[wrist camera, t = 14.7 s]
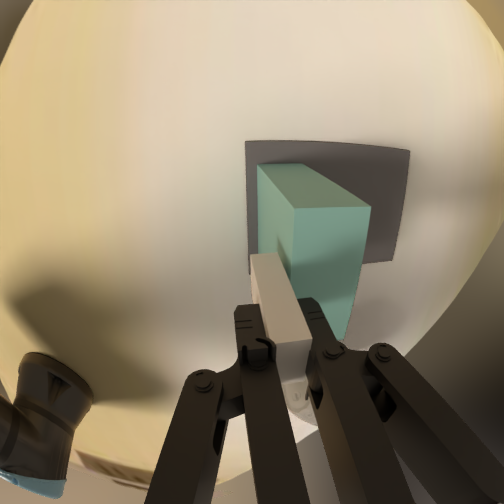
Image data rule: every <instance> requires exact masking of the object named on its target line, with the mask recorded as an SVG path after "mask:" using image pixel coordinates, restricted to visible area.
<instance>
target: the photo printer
mask: <svg viewBox="0 0 504 504" xmlns="http://www.w3.org/2000/svg"><path fill="white" fill-rule="evenodd" d="M307 386H308V380H307V377H306V375H305V380H304V381H301V382H295V383H289V384H282V389H283V393H284V397H285V402H286V406H287V408H288V409H289V411H291V412H292V413H293V414H294V415H295V416H297V417H298V418H300V419H301V420H303V421H305V422H307V423H310V424H312V425H315V426H318V425H317V422H316V418H315V415H314V411H313V408H312V405H311V402H310V398H309V397H308V400H306V401H305V394H306V390H307Z"/></svg>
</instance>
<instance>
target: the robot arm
mask: <svg viewBox="0 0 504 504" xmlns="http://www.w3.org/2000/svg"><path fill="white" fill-rule="evenodd" d="M250 261H251V293H252V300H253V304H248V305H238V306H237V308H236V310H235V312H234V320H235V332H236V342H237V351H238V358H237V361H236V362H235V364H234V365H233V366H231V367H230V368H228V369H226V370H224V371H221V372H218V373H216V372H214V371H211V370H208V369H202V370H198V371H195V372H193V373H192V374H190V375H189V376H188V377H187V379H186V381H185V383H184V386H183V389H182V392H181V395H180V398H179V400H178V403H177V406H176V409H175V412H174V415H173V418H172V421H171V424H170V426H169V429H168V432H167V435H166V438H165V441H164V444H163V447H162V450H161V453H160V456H159V459H158V462H157V465H156V468H155V471H154V474H153V477H152V480H151V483H150V487H149V490H148V493H147V496H146V499H145V502H144V504H211V500H212V496H213V492H214V487H215V482H216V478H217V473H218V468H219V464H220V459H221V454H222V450H223V445H224V440H225V436H226V431H227V426H228V421H229V419H231V418H234V417H236V416H239V415H242V414H244V413H245V420H246V428H247V435H248V442H249V450H250V457H251V464H252V470H253V477H254V483H255V490H256V497H257V503H258V504H310V500H309V496H308V492H307V488H306V484H305V480H304V476H303V472H302V467H301V463H300V459H299V455H298V451H297V447H296V443H295V439H294V435H293V430H292V426H291V422H290V418H289V414H288V410H287V406H286V402H285V397H284V393H283V389H282V384H289V383H295V382H301V381H304V380H305V375H306V377H307V380H308V386H307V390H306V394H305V401H306V400H308V397H309V398H310V402H311V405H312V408H313V411H314V415H315V418H316V422H317V425H318V428H319V431H320V435H321V438H322V442H323V445H324V449H325V452H326V455H327V459H328V462H329V466H330V469H331V472H332V476H333V480H334V483H335V486H336V490H337V493H338V497H339V501H340V504H416V503H415V502H414V500H413V498H412V495H411V492H410V489H409V487H408V484H407V482H406V479H405V476H404V474H403V471H402V469H401V467H400V464H399V461H398V459H397V457H396V454H395V452H394V449H395V451H396V452H397V453H398V454H399V456H400V457H401V458H402V460H403V461H404V462H405V463H406V465H407V466H408V467H409V469H410V470H411V471H412V473H413V474H414V475H415V476H416V478H417V479H418V480H419V481H420V483H421V484H422V485H423V487H424V488H425V489H426V490H427V492H428V493H429V494H430V496H431V497H432V498H433V499H434V501H435V502H436V503H437V504H504V467H503V466H502V465H501V464H500V463H499V461H498V460H497V459H496V458H495V456H494V455H493V454H492V453H491V452H490V450H489V449H488V448H487V447H486V446H485V445H484V443H482V441H481V440H480V439H479V438H478V437H477V436H476V434H475V433H474V432H473V431H472V430H471V429H470V428H469V426H468V425H467V424H466V423H465V422H464V421H463V420H462V419H461V418H460V416H459V415H458V414H457V413H456V412H455V411H454V410H453V409H452V408H451V407H450V405H449V404H448V403H447V402H446V401H445V400H444V399H443V398H442V397H441V396H440V395H439V394H438V392H437V391H436V390H435V389H434V388H433V387H432V386H431V385H430V384H429V383H428V382H427V381H426V380H425V379H424V378H423V377H422V376H421V375H420V374H419V372H418V371H416V369H415V368H414V367H413V366H412V365H411V364H410V363H409V362H408V361H407V360H406V359H405V358H404V357H403V356H402V355H401V354H400V353H399V352H398V351H397V350H396V349H395V348H394V347H393V346H391V345H389V344H386V343H377V344H374V345H372V346H371V347H370V349H369V351H356V350H350V349H348V348H347V347H346V346H345V345H344V344H343V343H341V342H339V341H337V339H336V337H335V335H334V333H333V331H332V329H331V327H330V325H329V323H328V321H327V319H326V317H325V314H324V312H323V310H322V308H321V306H320V304H319V303H318V302H317V301H316V300H314V299H313V298H312V297H308V298H300V299H297V298H296V296H295V293H294V291H293V289H292V286H291V284H290V281H289V279H288V276H287V274H286V272H285V269H284V267H283V264H282V262H281V260H280V257H279V255H278V252H275V253H262V254H250ZM18 373H19V377H18V383H17V392H16V397H15V400H14V403H13V405H12V404H11V403H10V402H9V401H8V400H7V399H6V398H5V397H3V396H2V395H1V394H0V477H1V478H3V479H5V480H7V481H8V482H11V483H13V484H15V485H17V486H19V487H21V488H23V489H26V490H28V491H31V492H33V493H36V494H39V495H42V496H45V497H49V498H53V499H58V498H60V497H61V496H62V494H63V490H64V485H65V482H66V481H67V479H66V474H67V468H68V462H69V457H70V451H71V446H72V442H73V437H74V433H75V430H76V428H77V427H78V425H79V424H80V422H81V421H82V419H83V418H84V416H85V415H86V413H87V412H88V411H89V410H90V408H91V405H92V401H93V393H92V391H91V389H90V388H89V386H88V385H87V384H86V383H85V382H84V381H83V380H82V379H81V378H80V377H79V376H78V375H77V374H76V373H74V372H73V371H72V370H70V369H69V368H67V367H66V366H64V365H63V364H61V363H59V362H58V361H56V360H54V359H52V358H49V357H47V356H44V355H41V354H37V353H28V354H26V355H24V357H23V359H22V361H21V363H20V365H19V369H18ZM393 448H394V449H393Z"/></svg>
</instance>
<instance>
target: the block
mask: <svg viewBox="0 0 504 504" xmlns="http://www.w3.org/2000/svg"><path fill="white" fill-rule="evenodd" d="M257 196H258V254H262V253H275V252H278V255H279V257H280V260H281V262H282V264H283V267H284V269H285V272H286V274H287V276H288V279H289V281H290V284H291V286H292V289H293V291H294V293H295V296H296V298H297V299H300V298H308V297H312V298H313V299H314V300H316V301H317V302H318V303H319V304H320V306H321V308H322V310H323V312H324V314H325V317H326V319H327V321H328V323H329V325H330V327H331V329H332V331H333V333H334V335H335V337H336V339H337V340H342V339H344V336H345V333H346V329H347V325H348V322H349V318H350V314H351V310H352V306H353V302H354V298H355V294H356V289H357V285H358V280H359V275H360V271H361V266H362V261H363V255H364V250H365V244H366V238H367V232H368V226H369V219H370V213H371V206H370V205H368V204H367V203H365V202H364V201H362V200H361V199H359V198H358V197H356V196H355V195H353V194H351V193H350V192H348V191H347V190H345V189H344V188H342V187H340V186H339V185H337V184H336V183H334V182H332V181H331V180H329V179H328V178H326V177H324V176H323V175H321V174H319V173H318V172H316V171H314V170H312V169H311V168H309V167H307V166H306V165H304V164H302V163H288V164H257Z"/></svg>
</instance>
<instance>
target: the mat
mask: <svg viewBox="0 0 504 504" xmlns="http://www.w3.org/2000/svg"><path fill="white" fill-rule="evenodd" d="M245 155H246V191H247V226H248V259H249V275H251V261H250V254H258V196H257V164H288V163H302V164H304V165H306V166H307V167H309V168H311V169H312V170H314V171H316V172H318V173H319V174H321V175H323V176H324V177H326V178H328V179H329V180H331V181H332V182H334V183H336V184H337V185H339V186H340V187H342V188H344V189H345V190H347V191H348V192H350V193H351V194H353V195H355V196H356V197H358V198H359V199H361V200H362V201H364V202H365V203H367V204H368V205H370V206H371V213H370V219H369V226H368V232H367V238H366V244H365V250H364V255H363V261H362V264H366V263H375V262H384V261H392V259H393V255H394V250H395V246H396V241H397V236H398V231H399V226H400V221H401V216H402V210H403V204H404V197H405V191H406V183H407V175H408V166H409V156H410V151H409V150H403V149H395V148H388V147H379V146H370V145H360V144H348V143H333V142H313V141H245Z"/></svg>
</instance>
